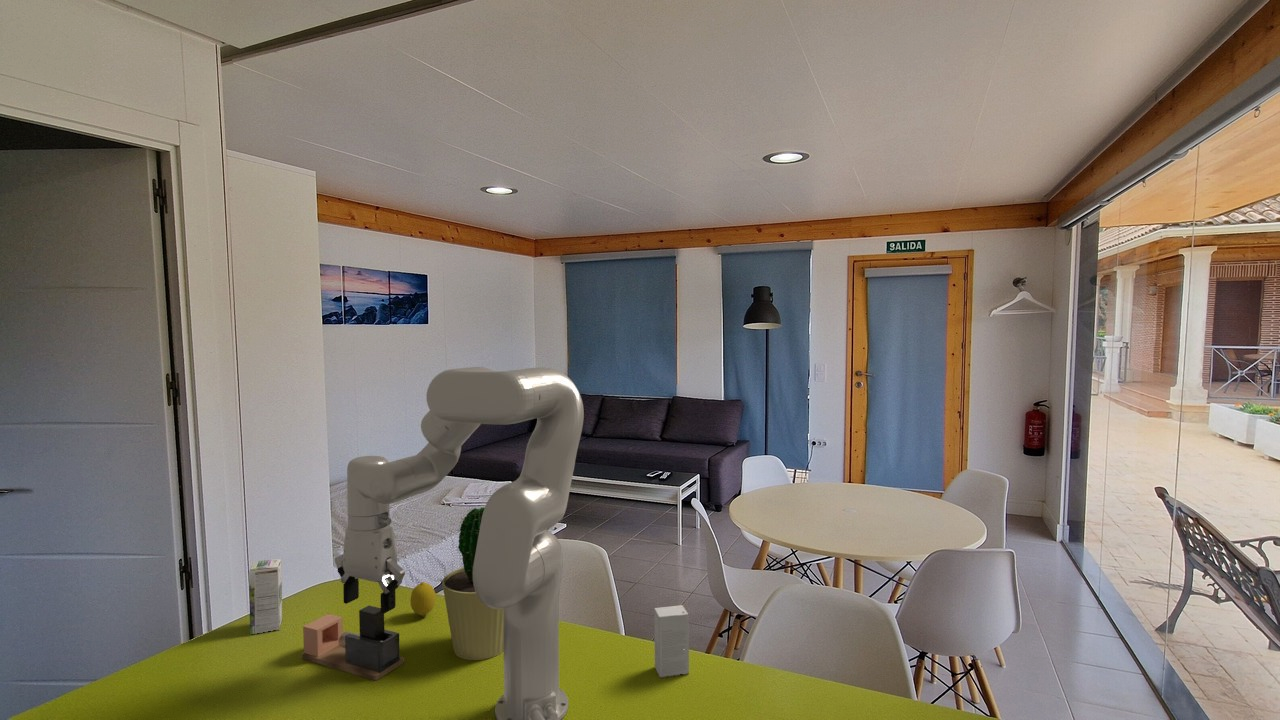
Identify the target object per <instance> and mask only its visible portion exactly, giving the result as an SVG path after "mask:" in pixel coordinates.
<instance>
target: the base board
mask: <svg viewBox="0 0 1280 720" xmlns="http://www.w3.org/2000/svg"><path fill="white" fill-rule="evenodd" d="M301 659H302V660H304V661H305V660H306V661H307V662H312V663H316V664H319V665H322V666H325V667H329V668H332V669H335V670H338V671H342V672H345V673H349V674H352V675H355V676H358V677H362V678H366V679H368V680H372V681H378V680H380V679H381V678H383V677H384V676H386V675H387V674H388V673H390V672H392V671H394V670H395V669H396V668H398V667H399V666H400V665H403V664H404V657H403V656H400V660H399V661H398V662H396V663H395V664H393V665H392V666H390V667H389V668H387V669H386V670H384V671H382V672H381V673H378V672H375V671H372V670H368V669H365V668H361V667H358V666H354V665H351V664H347V663H346V656H345V648H342V647H340V646H339V645H338V646H337V647H335V648H333V649H331V650H329V651H328V652H326V653H324V654H322V655H321V656H319V657H317V656H313V655H310V654H306V653H304V652H302V653H301Z"/></svg>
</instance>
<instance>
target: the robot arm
mask: <svg viewBox="0 0 1280 720" xmlns="http://www.w3.org/2000/svg"><path fill="white" fill-rule="evenodd" d="M425 395H426V399H425V400H426V404H427V407H428V408H429V411H428V412H427V413H426V414H425V415H424V416H423V417H422V419H421V422H420V430H421V433H422V435H423V437H424V439H425V440H426V441H427V444H426V445H425V446H424V447H423V448H422V449H421V450H420V451H419V452H418V453H417V454H416V455H411V456H407V457H404V458H400V459H395V460H393V461H392V460H391V461H389V460H388V459H387V458H386V457H384V456H381V455H363V456H359V457H355V458H353V459H351V460H350V461H349V462H348V464H347V468H346V481H347V482H346V485H347V486H346V488H347V489H346V490H347V491H346V492H347V493H346V495H347V498H346V500H347V507H346V508H347V526H346V530H345V535H344V542H343V554H340V555H338V556H336V557H335V558H334V562H335V565H336V568H337V572H338V574H339V576H340V577H341V578H340V583H342V584H343V592H342V593H343V604H345V605H347V604H349V603H351V602H353V601H355V600H357V599H358V598H359V597H360V596H359V595H360V593H359V592H360V589H359V588H360V587H359V586H360V585H359V584H360V583H359V582H360V581H359V580H365V581H369V582H372V583H378V585H379V586H380V588H381V591H382V592H381V593H380V608H381V613H383V614H384V615H385V614H386V613H388V612H389V611H390V612H391V611H392V610H394V609H395V608H396V605H397V604H396V590H397V589H398V588H399V586H400V585H401V584H402V583H403V579H404V577H405V575H406V570H405V569H404V568H403V567H401V566H400V565H399V564H398V551H397V541H396V536H395V532H394V527H393V526H391V525H390V524H392V519H391V517H390V504H396V503H398V502H401V501H404V500H407V499H408V498H410V497H411V498H412V497H414V496H417V495H421V494H424V493H426V492H429V491H430V490H433V488H435V487H436V486H437V485H439V484H440V483H441V482H442V481H443V479H445V478H446V477H447V476H448V474H449V473H450V472H451V471H453V469H454V468H455V466H456V465H457V463H458V462H459V459H460V457H461V452H462V446H463V445H464V444H465V443H466V441H467V440H468V439H469V438H470V437H471V435H472V434H473V433H474V432H475V431H476V430H477V429H478V428H479V427H480V426H481V425H482V424H483V425H499V426H500V425H502V426H505V425H512V424H513V425H514V424H518V423H522V422H527V421H530V420H534V419H537V420H536V424H535V428H534V430H533V431H532V433H531V435H530V437H529V439H528V442H527V445H526V449H525V454H524V455H525V456H524V460H523V465H522V469H521V473H520V475H519V477H518V478H516V480H514V481H512V482H510V483H509V482H508V483H507V484H504V485H503V486H501V487H499V488H497V489H496V490H495V492H493V493H492V494H491V496H490V497H489V499H488V501H487V502H486V504H485V507H483V508H484V511H483V515H482V520H481V525H480V531H479V536H478V542H477V548H476V553H475V559H474V565H473V584H474V589H475V592H476V594H477V596H478V597H479V599H480V600H481V601H482V603H484V604H485V605H486V606H488V607H490V608H493V609H504V615H503V640H504V652H503V694H502V695H501V696H500V697H499V698H498V700H497V701H496V703H495V707H494V708H495V709H494V713H495V714H494V715H495V719H496V720H562V719H563V718H564V717H566V716H565V715H566V714H567V712H568V709H569V698H568V695H567V694H566V692H565V691H564V690H563V689H561V688H560V643H559V642H560V638H559V636H560V634H559V633H560V629H559V628H560V627H559V624H560V592H561V584H562V577H563V570H564V551H563V547H562V545H561V542H560V541H559V539H558V538H557V537H556V535H555V534H554V533H552V532H551V531H549V529H551V528H552V527H554V526H556V525H557V524H558V523H559V522H561V520H562V519H563V518H564V516H565V513H566V510H567V507H568V502H569V496H570V491H571V485H572V481H573V475H574V470H575V465H576V459H577V453H578V448H579V444H580V440H581V436H582V432H583V425H584V416H585V415H584V413H585V412H584V403H583V399H582V396H581V394H580V391H579V389H578V387H577V386H576V384H575V383H574V382H573V380H571V378H570V377H568V376H567V375H566V374H565V373H563V372H562V371H560V370H557V369H555V368H552V367H551V368H550V367H541V366H540V367H530V368H529V367H528V368H524V369H523V368H522V369H515V370H514V369H513V370H503V371H494V370H492V369H491V368H488V367H483V366H471V367H460V368H452V369H447V370H443V371H442V372H441V371H440V373H438V374H437V375H435V376H434V377H433V379H432V380H431V381H430V382H429V385H428V388H427V391H426V394H425ZM386 580H387V581H388V584H387V582H386Z"/></svg>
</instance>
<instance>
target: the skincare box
mask: <svg viewBox="0 0 1280 720" xmlns="http://www.w3.org/2000/svg"><path fill="white" fill-rule="evenodd" d="M653 619H654V620H653V626H654V638H653V639H654V667H655V669H656V672H657V675H658V677H659V678H660V677H661V678H667V676H668V677H675V676H681V675H680V674H683V675H687V674H688V673H689V674H690V657H689V656H690V655H689V654H690V643H689V642H690V637H689V635H690V628H689V624H690V623H689V613H688V611H687V610H686V609H685V607H684V605H682V604H681V605H673V606H670V605H669V606H661V607H654V608H653ZM683 649H685V650H683ZM689 674H688V675H689ZM674 675H675V676H674Z"/></svg>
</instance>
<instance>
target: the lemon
mask: <svg viewBox="0 0 1280 720" xmlns="http://www.w3.org/2000/svg"><path fill="white" fill-rule="evenodd" d="M436 599H437V597H436V592H435V589H434V587H433V586H432V585H431V584H430V583H426V582H423V581H422V582H420V583H419V584H417V585H416V586H415V587H413V590H411V594H410V608H411V609H412V611H413V612H414V613H415V614H417V615H419V616H421V617H425V616H426V615H427V614H429V613H431V611H432V610H433V609H434V607H435V604H436Z"/></svg>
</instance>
